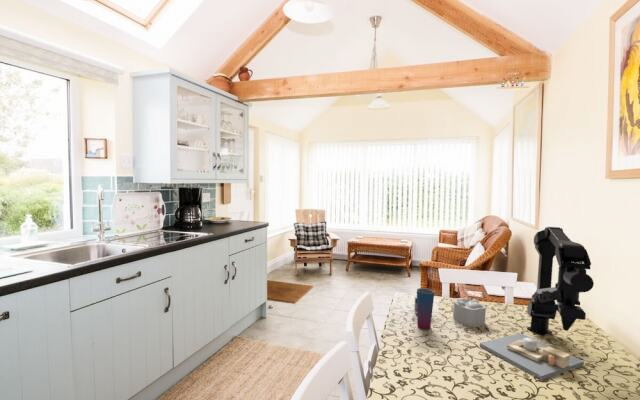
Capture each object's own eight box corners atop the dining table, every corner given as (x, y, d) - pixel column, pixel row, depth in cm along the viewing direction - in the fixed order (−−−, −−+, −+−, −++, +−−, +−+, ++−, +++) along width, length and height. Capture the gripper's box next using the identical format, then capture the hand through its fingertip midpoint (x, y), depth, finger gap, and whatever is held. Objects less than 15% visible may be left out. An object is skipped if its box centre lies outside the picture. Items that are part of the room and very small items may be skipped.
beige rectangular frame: (506, 348, 117) (507, 338, 117) (522, 341, 122) (522, 332, 122) (558, 371, 103) (559, 360, 103) (573, 362, 108) (574, 352, 108)
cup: (433, 331, 131) (435, 294, 131) (415, 329, 133) (417, 292, 132) (431, 324, 138) (433, 288, 137) (414, 322, 140) (416, 287, 139)
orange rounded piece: (550, 363, 108) (550, 354, 108) (555, 365, 106) (556, 356, 106) (547, 364, 107) (547, 355, 107) (552, 366, 106) (552, 357, 106)
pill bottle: (412, 310, 153) (413, 289, 152) (424, 310, 153) (425, 289, 153) (417, 315, 147) (418, 293, 146) (429, 315, 148) (430, 293, 147)
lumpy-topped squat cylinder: (469, 327, 136) (470, 306, 136) (446, 315, 148) (447, 296, 148) (488, 324, 140) (489, 304, 139) (464, 312, 152) (465, 294, 152)
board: (519, 336, 130) (520, 322, 129) (583, 365, 110) (584, 349, 109) (479, 346, 121) (480, 332, 120) (541, 379, 101) (542, 363, 100)
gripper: (535, 272, 119) (533, 315, 120) (542, 286, 103) (539, 335, 104) (574, 277, 114) (571, 321, 115) (587, 292, 98) (584, 344, 99)
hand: (565, 330), depth 108 cm, fingers closed
